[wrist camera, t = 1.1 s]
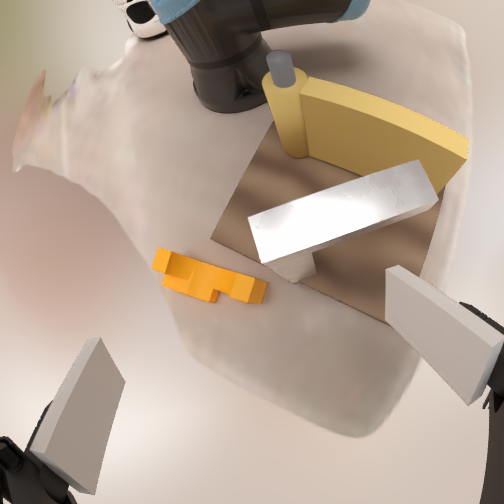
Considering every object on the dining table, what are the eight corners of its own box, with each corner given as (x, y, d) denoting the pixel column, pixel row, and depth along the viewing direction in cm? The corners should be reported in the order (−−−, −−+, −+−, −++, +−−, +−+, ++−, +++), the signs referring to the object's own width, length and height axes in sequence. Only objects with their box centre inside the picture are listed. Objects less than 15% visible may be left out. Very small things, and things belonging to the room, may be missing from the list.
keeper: (292, 283, 33) (261, 263, 17) (285, 259, 33) (247, 217, 17) (386, 250, 31) (438, 199, 14) (377, 227, 31) (418, 159, 15)
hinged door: (276, 151, 35) (245, 68, 20) (290, 126, 35) (266, 41, 20) (424, 212, 28) (480, 150, 14) (432, 182, 29) (482, 112, 14)
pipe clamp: (174, 286, 37) (147, 282, 31) (184, 256, 37) (158, 247, 31) (257, 316, 33) (241, 319, 27) (267, 282, 34) (255, 278, 28)
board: (284, 108, 37) (283, 104, 36) (446, 171, 30) (448, 167, 29) (213, 240, 36) (210, 238, 35) (394, 327, 29) (397, 327, 28)
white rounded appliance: (156, 14, 56) (128, -24, 38) (206, 2, 51) (181, -44, 34) (129, 49, 53) (93, 8, 36) (182, 35, 49) (148, -17, 31)
